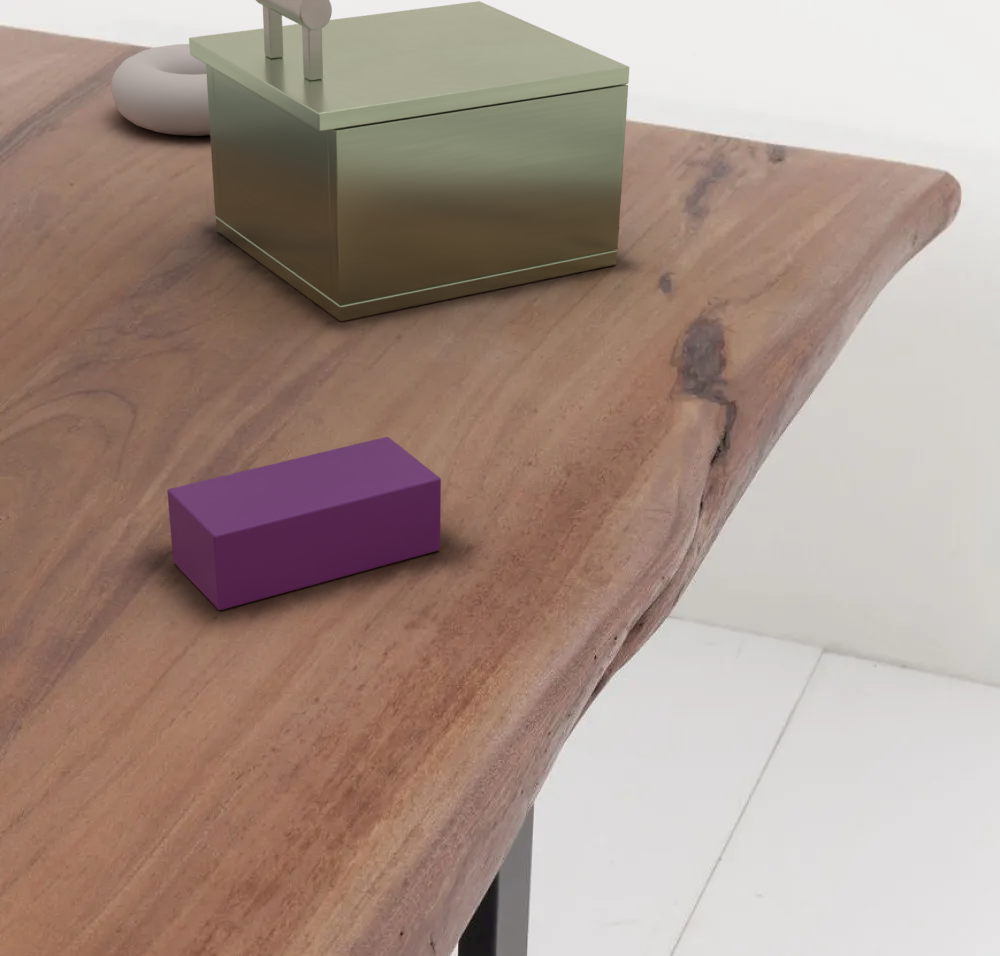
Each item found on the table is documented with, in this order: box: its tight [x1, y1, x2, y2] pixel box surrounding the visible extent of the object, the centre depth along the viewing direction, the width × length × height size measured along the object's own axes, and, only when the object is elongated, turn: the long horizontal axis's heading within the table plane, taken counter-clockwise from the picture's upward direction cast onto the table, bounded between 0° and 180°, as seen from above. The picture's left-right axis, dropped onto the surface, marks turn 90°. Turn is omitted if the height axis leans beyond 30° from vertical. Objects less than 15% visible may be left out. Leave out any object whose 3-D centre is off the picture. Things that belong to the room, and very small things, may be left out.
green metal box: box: [206, 64, 629, 322], centre depth 93 cm, size 16×14×9 cm
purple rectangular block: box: [166, 436, 442, 611], centre depth 68 cm, size 9×4×3 cm, turn 122°
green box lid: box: [188, 0, 630, 131], centre depth 89 cm, size 16×14×5 cm
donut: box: [110, 43, 210, 137], centre depth 111 cm, size 10×4×10 cm
